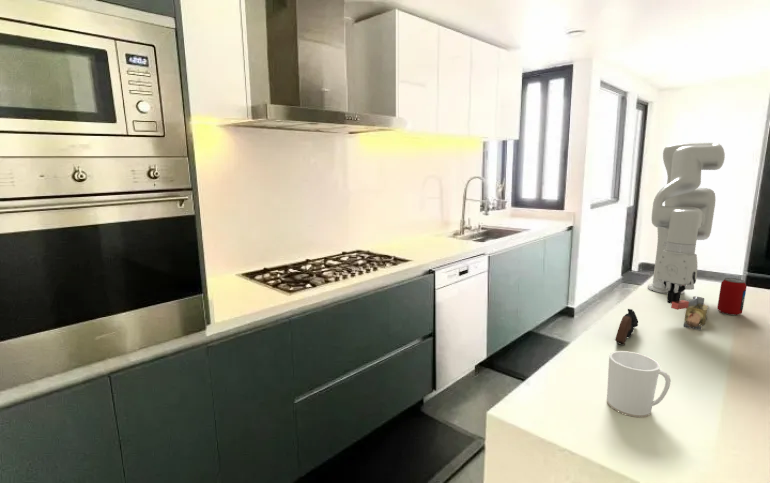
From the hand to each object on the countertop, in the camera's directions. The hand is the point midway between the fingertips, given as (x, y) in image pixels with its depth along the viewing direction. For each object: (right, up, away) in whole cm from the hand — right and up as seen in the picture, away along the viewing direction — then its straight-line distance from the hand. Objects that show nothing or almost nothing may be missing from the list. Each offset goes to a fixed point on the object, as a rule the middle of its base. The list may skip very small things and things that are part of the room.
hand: (672, 302), depth 133 cm
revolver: (-22, -9, -12) cm, 26 cm away
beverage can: (+27, -5, +10) cm, 29 cm away
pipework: (+9, -6, +2) cm, 11 cm away
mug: (-42, -15, -48) cm, 66 cm away
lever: (+4, -1, -1) cm, 4 cm away
